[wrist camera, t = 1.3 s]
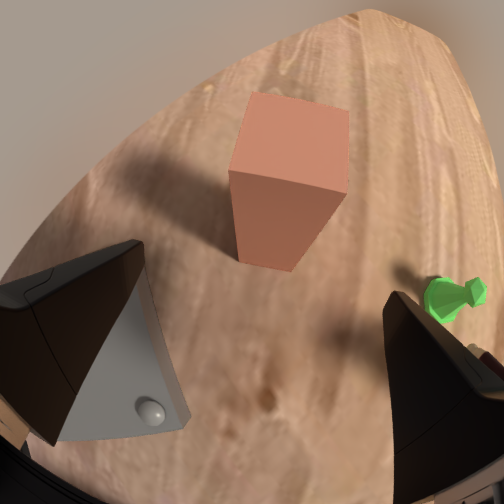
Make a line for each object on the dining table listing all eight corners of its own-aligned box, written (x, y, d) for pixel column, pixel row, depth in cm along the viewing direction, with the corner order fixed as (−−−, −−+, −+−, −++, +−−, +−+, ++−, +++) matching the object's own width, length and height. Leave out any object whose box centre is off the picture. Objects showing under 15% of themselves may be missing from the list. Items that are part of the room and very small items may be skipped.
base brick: (191, 416, 18) (181, 431, 15) (66, 432, 17) (44, 442, 14) (142, 258, 21) (125, 245, 18) (30, 299, 20) (7, 293, 17)
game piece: (415, 291, 21) (458, 277, 15) (445, 269, 22) (487, 253, 16) (433, 333, 20) (477, 331, 14) (461, 310, 21) (504, 301, 15)
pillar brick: (290, 272, 21) (346, 193, 9) (239, 262, 22) (228, 169, 9) (298, 223, 22) (348, 111, 10) (249, 214, 23) (252, 91, 10)
